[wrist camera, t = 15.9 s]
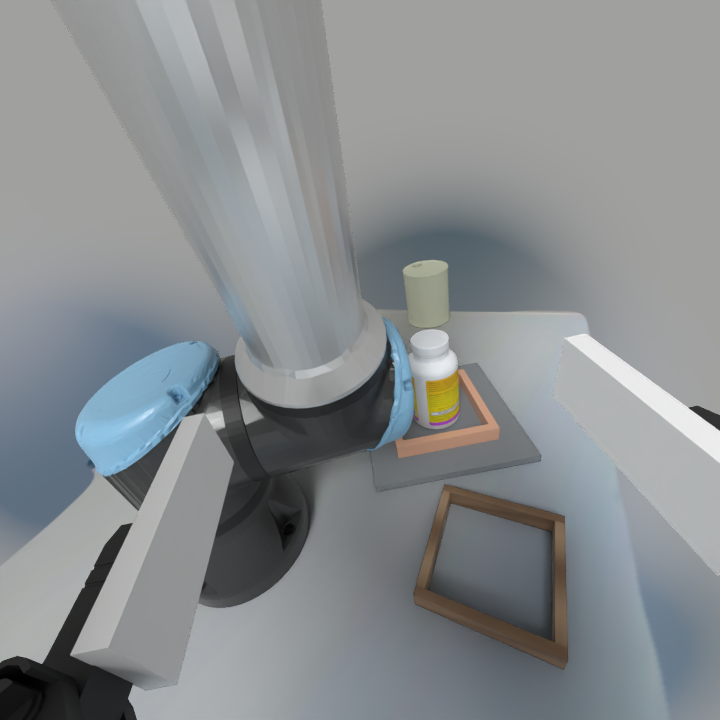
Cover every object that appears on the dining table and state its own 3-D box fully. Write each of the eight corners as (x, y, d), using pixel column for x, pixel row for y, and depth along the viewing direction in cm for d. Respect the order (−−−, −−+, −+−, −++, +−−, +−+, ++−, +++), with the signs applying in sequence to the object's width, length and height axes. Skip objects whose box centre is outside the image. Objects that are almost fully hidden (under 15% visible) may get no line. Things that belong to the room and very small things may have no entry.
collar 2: (563, 669, 25) (568, 660, 24) (415, 604, 30) (413, 594, 29) (561, 527, 33) (564, 516, 32) (445, 494, 38) (444, 484, 37)
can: (429, 305, 79) (425, 255, 73) (459, 315, 72) (458, 261, 66) (399, 320, 76) (393, 269, 69) (428, 332, 69) (424, 277, 62)
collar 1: (499, 439, 42) (499, 428, 41) (398, 458, 43) (396, 447, 42) (463, 379, 53) (463, 368, 52) (383, 394, 54) (382, 385, 52)
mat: (540, 460, 40) (541, 455, 39) (376, 491, 40) (375, 486, 40) (476, 367, 57) (476, 362, 56) (361, 390, 57) (360, 385, 57)
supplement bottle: (468, 409, 48) (468, 331, 41) (444, 438, 44) (439, 359, 37) (427, 394, 52) (421, 321, 45) (403, 420, 48) (391, 345, 41)
